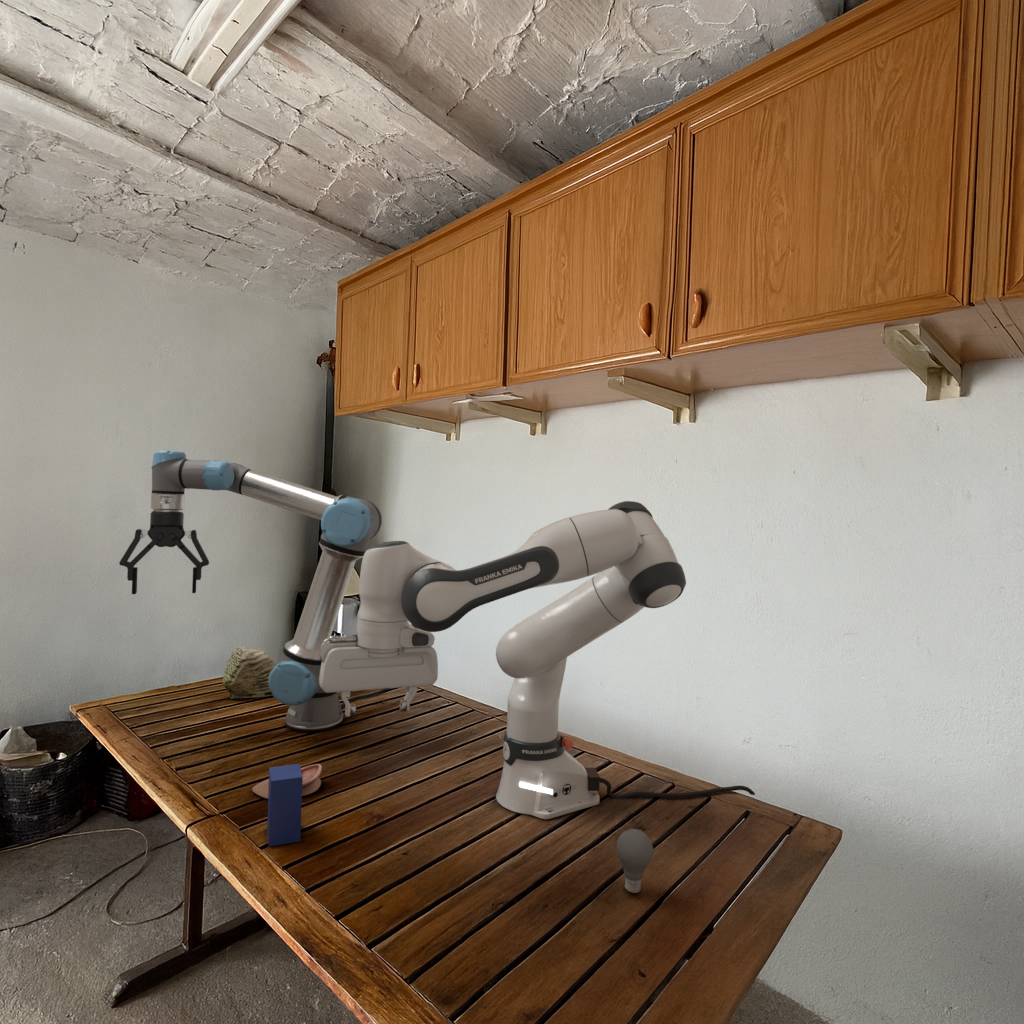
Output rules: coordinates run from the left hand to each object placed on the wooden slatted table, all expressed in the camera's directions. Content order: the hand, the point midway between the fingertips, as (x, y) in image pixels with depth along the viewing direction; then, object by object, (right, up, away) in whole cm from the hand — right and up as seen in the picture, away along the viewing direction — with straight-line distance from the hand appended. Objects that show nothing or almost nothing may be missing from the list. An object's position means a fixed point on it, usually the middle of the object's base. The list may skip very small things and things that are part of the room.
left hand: (164, 593), depth 163 cm
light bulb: (+110, -42, -58) cm, 131 cm away
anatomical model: (+41, -39, -27) cm, 63 cm away
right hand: (+66, -14, -53) cm, 86 cm away
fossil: (+9, -36, +35) cm, 51 cm away
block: (+47, -40, -45) cm, 76 cm away
